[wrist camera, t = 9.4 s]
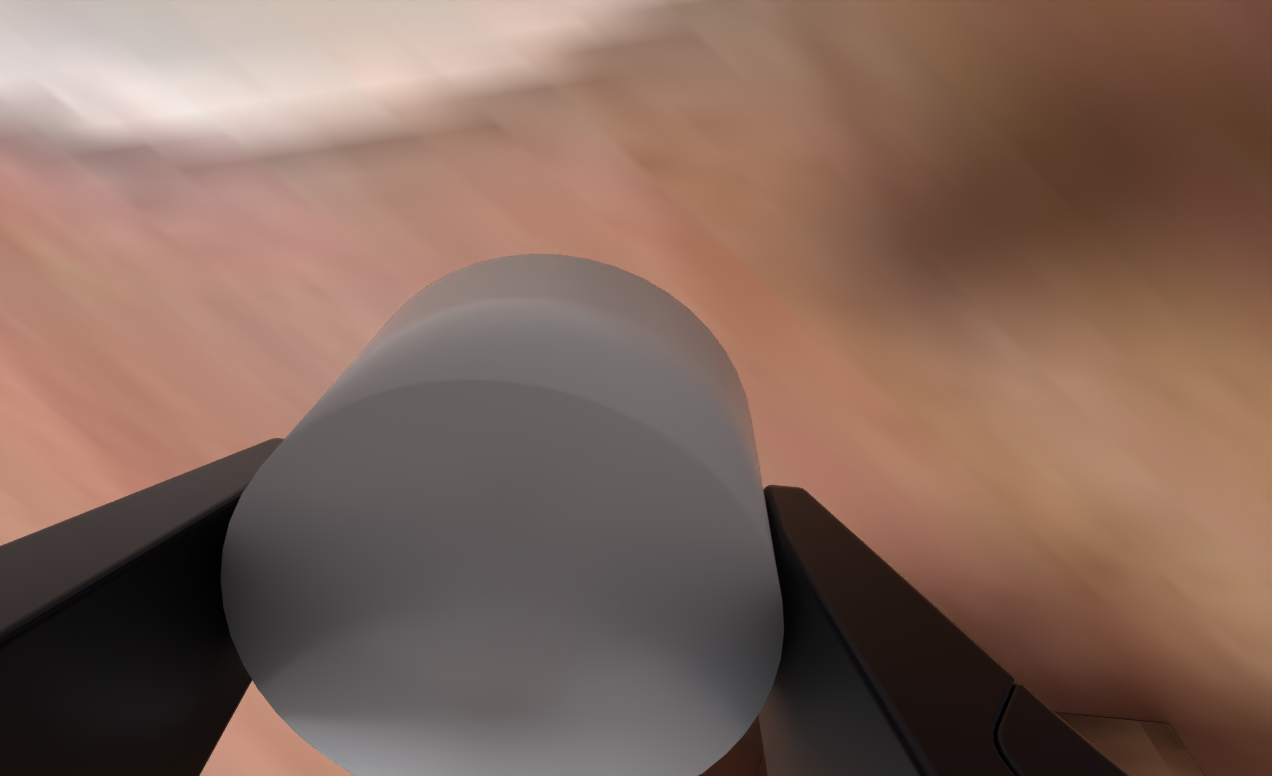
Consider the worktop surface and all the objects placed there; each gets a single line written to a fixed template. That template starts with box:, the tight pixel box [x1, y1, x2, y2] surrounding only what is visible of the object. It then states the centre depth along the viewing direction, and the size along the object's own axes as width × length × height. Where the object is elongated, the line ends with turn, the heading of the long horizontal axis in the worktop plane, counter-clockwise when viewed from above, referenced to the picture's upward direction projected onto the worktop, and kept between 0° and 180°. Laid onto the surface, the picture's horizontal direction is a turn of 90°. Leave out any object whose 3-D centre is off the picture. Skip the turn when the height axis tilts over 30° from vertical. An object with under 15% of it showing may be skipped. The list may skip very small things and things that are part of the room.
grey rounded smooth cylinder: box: [221, 254, 784, 776], centre depth 8 cm, size 5×5×3 cm
